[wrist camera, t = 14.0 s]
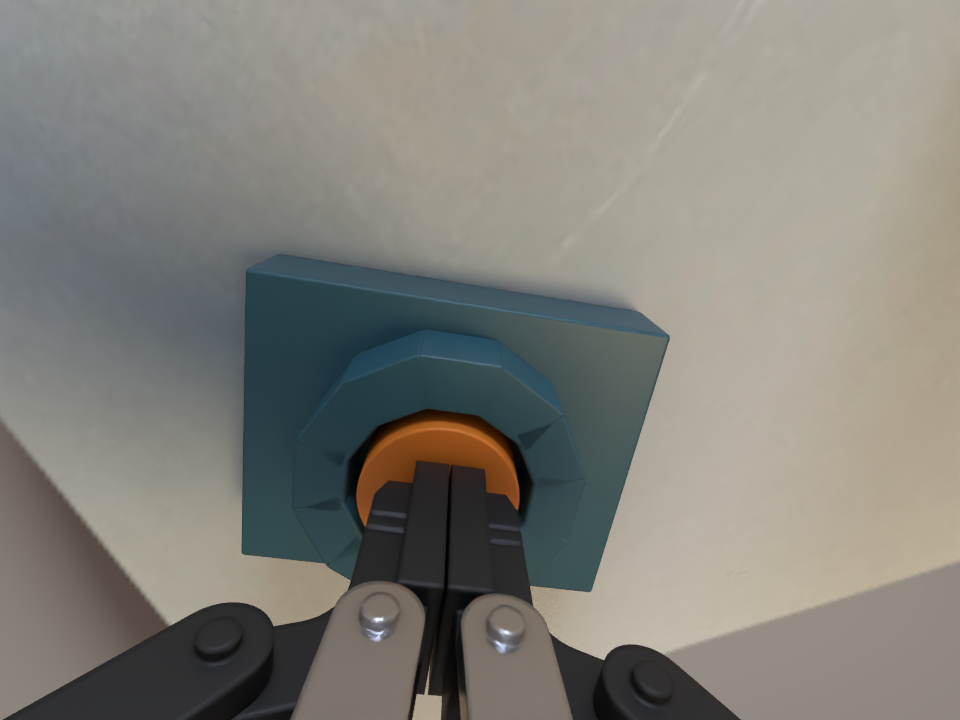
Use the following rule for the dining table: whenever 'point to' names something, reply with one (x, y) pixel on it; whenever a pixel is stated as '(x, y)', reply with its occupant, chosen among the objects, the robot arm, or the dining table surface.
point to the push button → (436, 453)
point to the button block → (435, 403)
